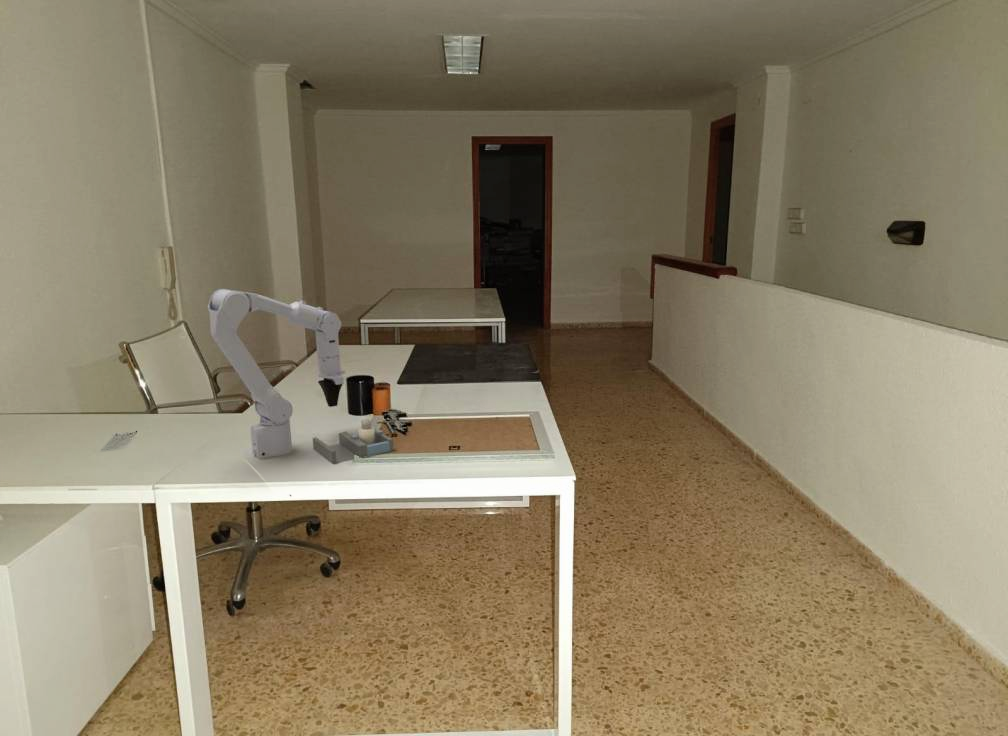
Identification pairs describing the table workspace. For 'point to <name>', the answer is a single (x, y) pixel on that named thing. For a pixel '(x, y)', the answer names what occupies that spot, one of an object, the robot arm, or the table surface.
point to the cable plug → (367, 432)
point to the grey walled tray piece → (352, 447)
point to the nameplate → (395, 421)
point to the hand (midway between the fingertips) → (332, 405)
